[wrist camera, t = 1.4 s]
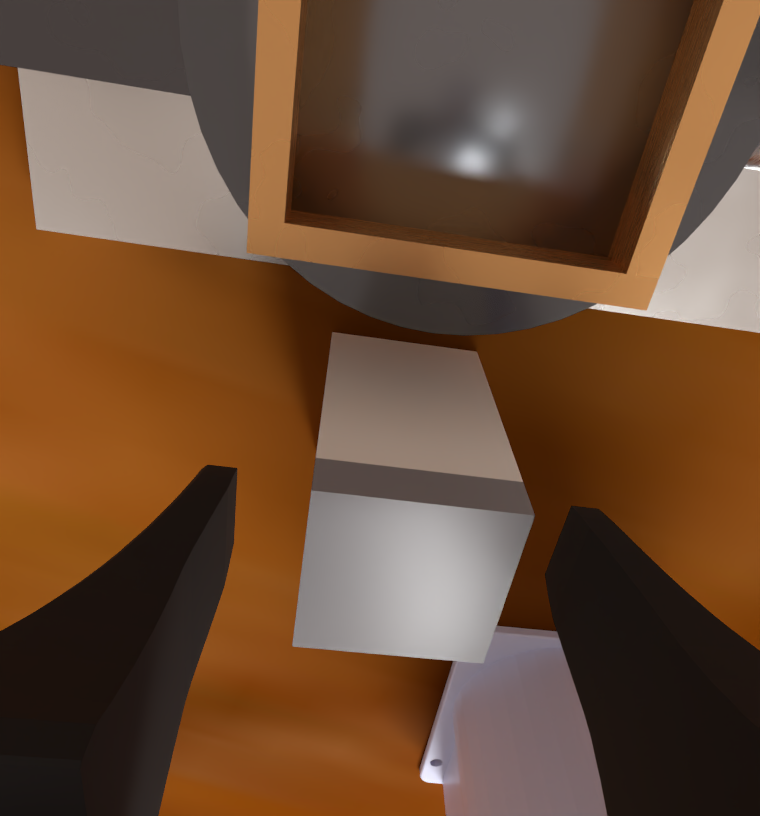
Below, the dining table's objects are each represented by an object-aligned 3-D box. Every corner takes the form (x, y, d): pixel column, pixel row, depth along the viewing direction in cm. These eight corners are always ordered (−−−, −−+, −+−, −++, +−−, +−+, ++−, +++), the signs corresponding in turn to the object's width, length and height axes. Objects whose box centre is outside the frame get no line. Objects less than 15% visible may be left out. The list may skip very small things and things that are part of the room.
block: (447, 469, 19) (483, 663, 13) (317, 454, 19) (292, 646, 13) (476, 351, 17) (535, 515, 11) (332, 331, 17) (311, 490, 11)
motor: (747, 319, 17) (879, 413, 13) (55, 218, 15) (-69, 286, 11) (1010, -239, 12) (1399, -412, 7) (-16, -483, 10) (-315, -892, 6)
